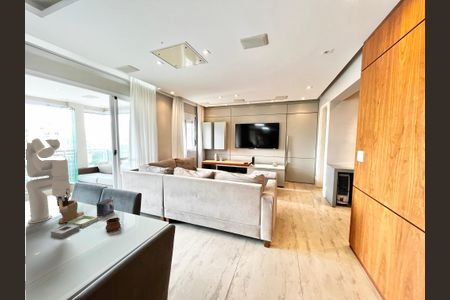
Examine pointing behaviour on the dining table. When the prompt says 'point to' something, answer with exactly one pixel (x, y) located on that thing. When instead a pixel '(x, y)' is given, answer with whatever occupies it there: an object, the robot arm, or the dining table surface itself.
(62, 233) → the holder block
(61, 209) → the fuse
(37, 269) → the dining table surface
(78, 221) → the parts tray
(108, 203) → the small box
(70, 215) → the stone cup
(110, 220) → the ceramic pot
